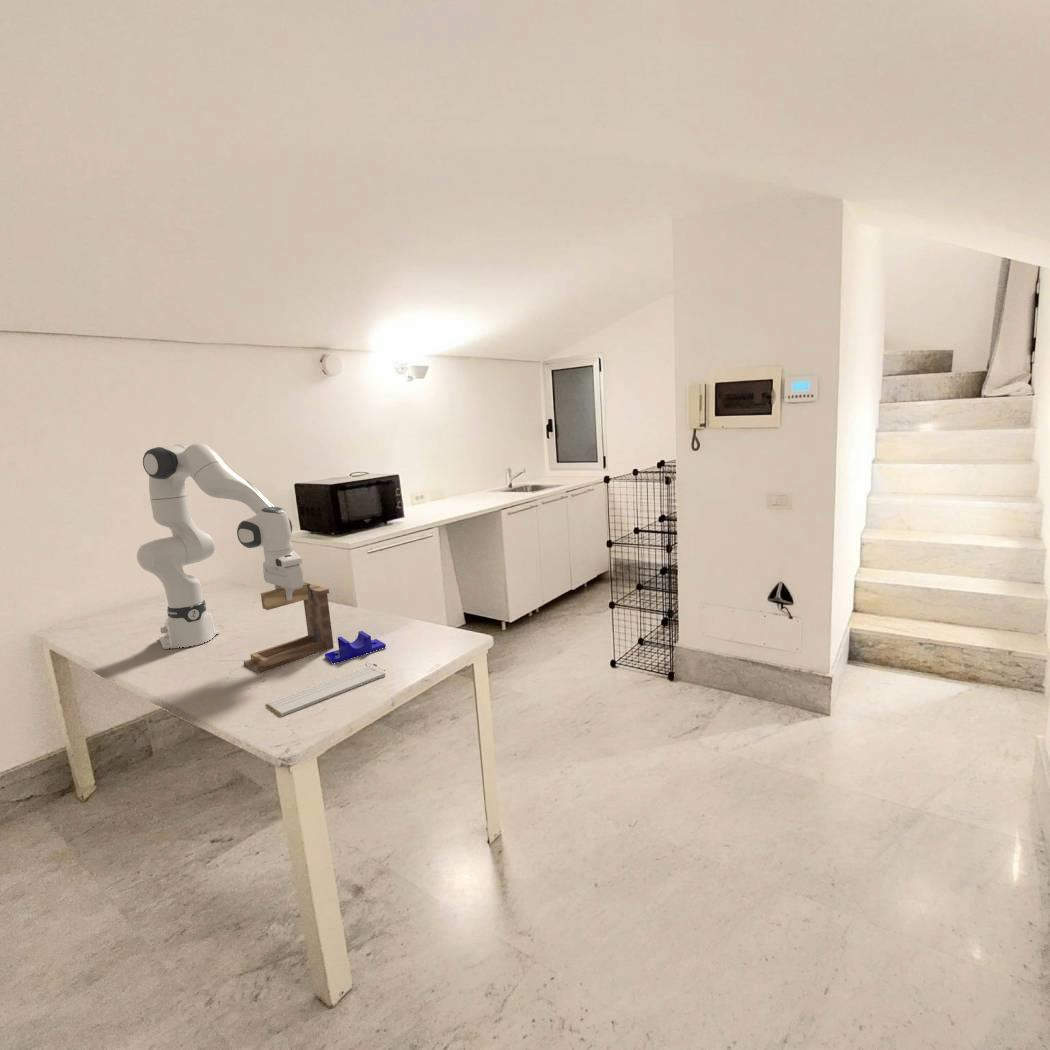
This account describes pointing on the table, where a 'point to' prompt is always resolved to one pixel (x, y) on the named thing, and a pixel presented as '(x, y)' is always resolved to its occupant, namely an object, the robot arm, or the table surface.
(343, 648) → the mounting bracket
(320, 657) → the table surface
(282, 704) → the baseboard molding
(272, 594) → the oak rail piece
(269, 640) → the table surface
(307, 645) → the wooden l-shaped stand
